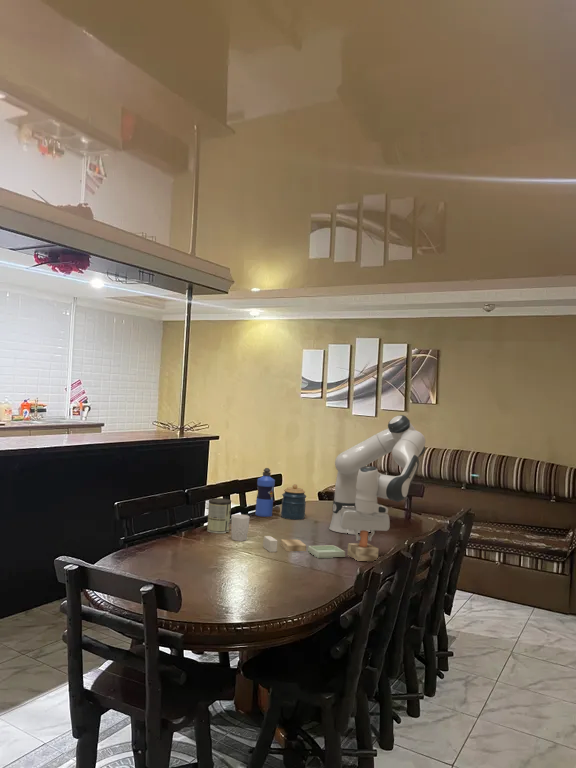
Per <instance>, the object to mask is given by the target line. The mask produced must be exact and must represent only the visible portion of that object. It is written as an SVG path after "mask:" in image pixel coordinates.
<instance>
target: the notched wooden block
mask: <svg viewBox="0 0 576 768" xmlns="http://www.w3.org/2000/svg"><path fill="white" fill-rule="evenodd" d="M281 546H282V549H283V550H285V551H286V552H287V551H289V552H288V553H291V552H290V551H306V552H307V544H305V543H304V542H303V541H302V540H300V539H280V547H281Z"/></svg>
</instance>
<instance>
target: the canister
mask: <svg viewBox="0 0 576 768" xmlns="http://www.w3.org/2000/svg"><path fill="white" fill-rule="evenodd" d="M283 491H284V492H283V493H282V494H281V495H282V500H281V511H280V517H281V518H283V519H287V520H294V521H295V520H303V519H305V516H306V504H307V502H306V498H307V495H306V494H305V493H306V491H305V490H304V489H303V488H301V487H298V484H293V485H292V486H291V487H287V488H286V489H283Z"/></svg>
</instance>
